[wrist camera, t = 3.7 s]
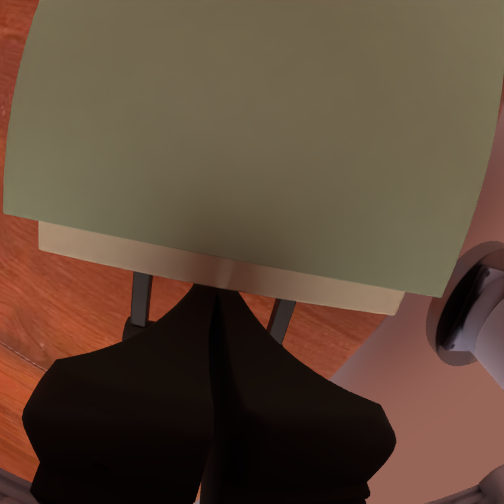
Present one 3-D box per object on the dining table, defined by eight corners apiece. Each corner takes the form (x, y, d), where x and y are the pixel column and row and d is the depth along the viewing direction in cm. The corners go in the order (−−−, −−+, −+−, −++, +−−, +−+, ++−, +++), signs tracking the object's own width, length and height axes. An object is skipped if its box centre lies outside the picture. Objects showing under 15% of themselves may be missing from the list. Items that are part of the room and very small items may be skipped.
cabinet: (344, 214, 16) (441, 299, 8) (111, 166, 14) (2, 214, 6) (398, -17, 11) (497, -77, 3) (182, -73, 9) (157, -178, 1)
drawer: (303, 323, 17) (338, 421, 11) (106, 286, 15) (51, 375, 9) (390, 4, 11) (474, -44, 5) (177, -51, 9) (152, -136, 3)
